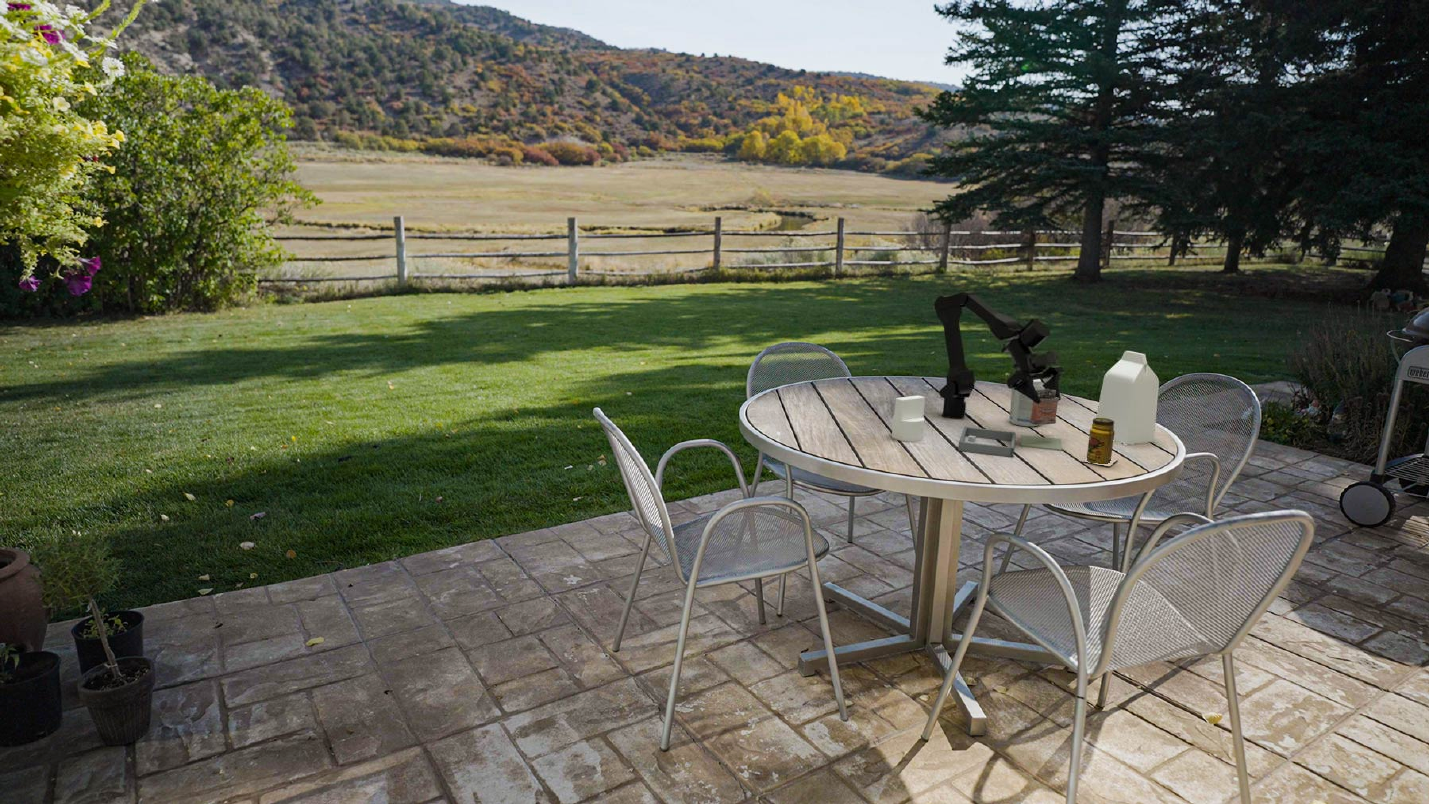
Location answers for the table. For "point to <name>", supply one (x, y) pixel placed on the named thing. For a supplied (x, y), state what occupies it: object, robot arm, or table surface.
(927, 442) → the table surface
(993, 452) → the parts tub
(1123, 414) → the milk
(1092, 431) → the condiment
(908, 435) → the base with upright slab
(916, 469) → the table surface
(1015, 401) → the supplement tub
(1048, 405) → the lighter
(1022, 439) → the mat
